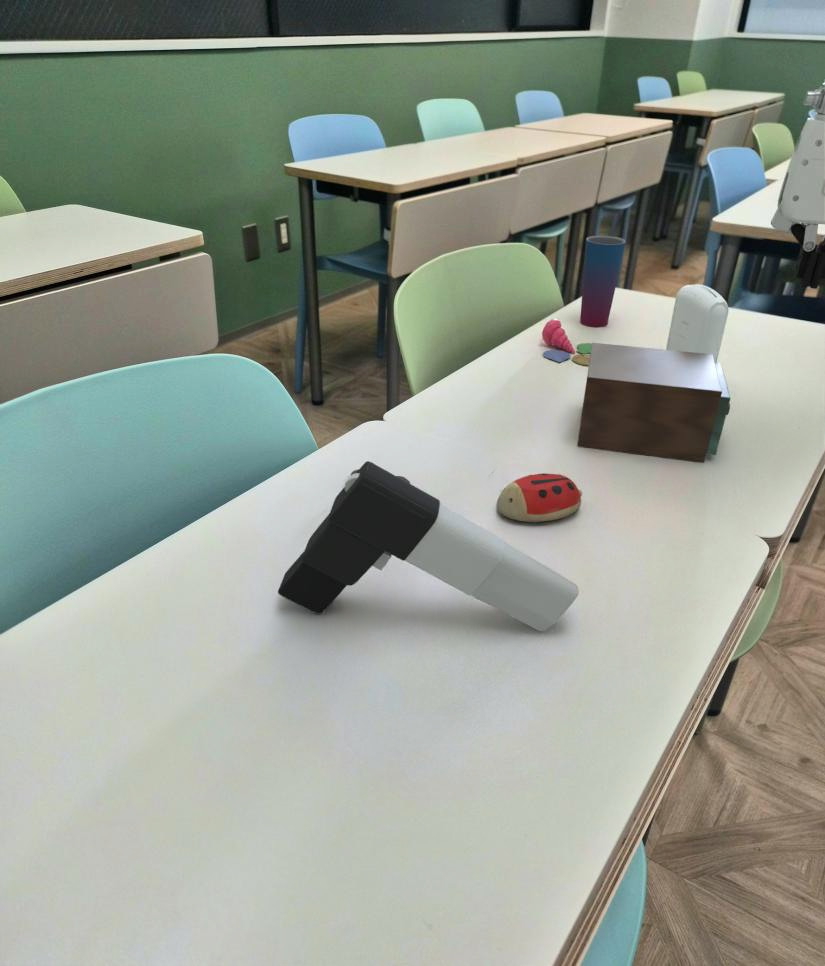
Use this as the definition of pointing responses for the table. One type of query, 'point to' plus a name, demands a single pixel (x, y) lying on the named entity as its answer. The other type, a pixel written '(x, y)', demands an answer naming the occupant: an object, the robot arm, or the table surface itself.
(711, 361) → the cabinet
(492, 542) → the handheld device
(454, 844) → the table surface
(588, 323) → the cup
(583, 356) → the toy pieces
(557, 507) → the ladybug figurine
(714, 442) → the drawer
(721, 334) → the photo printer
